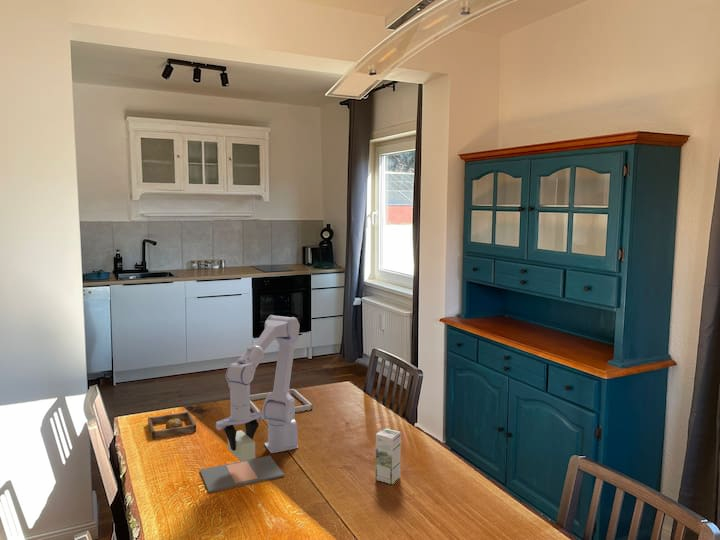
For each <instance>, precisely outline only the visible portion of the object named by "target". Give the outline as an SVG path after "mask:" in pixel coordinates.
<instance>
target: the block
mask: <svg viewBox="0 0 720 540" xmlns="http://www.w3.org/2000/svg"><path fill="white" fill-rule="evenodd" d="M236 431H237V432H236V450H234V451H233V450H232V449H231V447H230V443H229V440H228V439H227V450H228V451H229V452H230V453H231V454H232V455H234V457H235V458H236V459H238V460H239V462H240V461H241V462H243V461H246V460H250V459H255V458H256V441H255V440H254V439H253V440H252V439H251V438H250V437H249V436H248V435H246V432H244V431H243V430H241V429H239V430H236Z"/></svg>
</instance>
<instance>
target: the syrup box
mask: <svg viewBox="0 0 720 540" xmlns="http://www.w3.org/2000/svg"><path fill="white" fill-rule="evenodd" d="M401 434H402V431H399V430H398V431H397V430H394V429H390V428H386V427H385V428H382V429H380V430H378V432H377V433H376V434H375V477H374V478H375V481H376V480H378V481H377V482H379V481H381V482H380V483H383V482H385V483H384V484H386V483H388V484H387V485H390V484H393V483H394V482H395V481H396V480H397V479H398V478H399V477H400V478H401V447H402V446H401V445H402V439H401V438H402V435H401ZM400 478H399V479H400ZM399 479H398V480H399ZM398 480H397V481H398ZM397 481H396V482H397ZM396 482H395V483H396ZM395 483H394V484H395ZM394 484H393V485H394Z"/></svg>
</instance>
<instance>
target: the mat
mask: <svg viewBox="0 0 720 540" xmlns="http://www.w3.org/2000/svg"><path fill="white" fill-rule="evenodd" d="M199 472H200V475H201V478H202V480H203V482H204V485H205V487H206V489H207V491H208V493H209V494H211V493H215V492H219V491H224V490H229V489H233V488H238V487H242V486H247V485H252V484H256V483H260V482H265V481H270V480H274V479H278V478H282V477H283V478H284V477H285V473H284V472H283V471H282V469H281V468H280V467H279V466H278V464H277V463H276V462H275V460H274V458H272V456H271V455H267V456H261V457H257V458H256V457H255V458H253V459H250V460H246V461H243V462H241V461H240V460H239V461H236V462H231V463H226V464H222V465H221V464H220V465H216V466H212V467H205V468H200V469H199Z"/></svg>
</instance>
